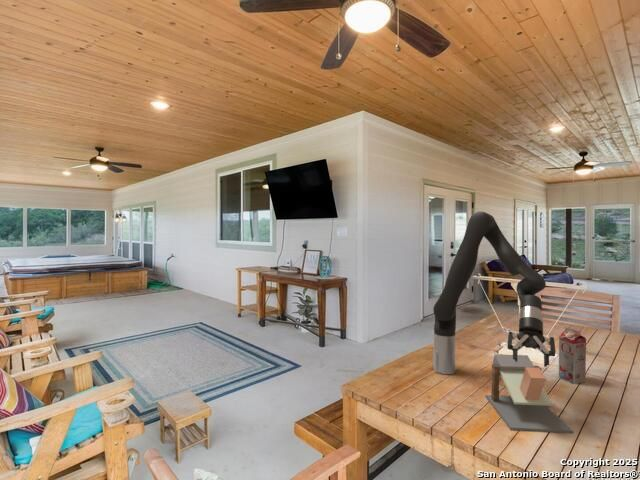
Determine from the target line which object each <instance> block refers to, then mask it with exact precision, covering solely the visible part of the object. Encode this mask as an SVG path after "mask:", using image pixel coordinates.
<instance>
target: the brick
mask: <svg viewBox="0 0 640 480" xmlns="http://www.w3.org/2000/svg"><path fill="white" fill-rule="evenodd" d="M540 368H541V367H540ZM540 368H531V367H525V371H524V374H523V378H522V381H521V385H520V390H521V392H522V394H523V396H524V398H525V399H534V400H539V398H540V395H541V392H542V389H543V388H544V386H545V383H546V380H547V378H546V376H545V375H544V373H543V370H542V371H541V369H540Z"/></svg>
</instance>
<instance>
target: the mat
mask: <svg viewBox="0 0 640 480" xmlns="http://www.w3.org/2000/svg"><path fill="white" fill-rule="evenodd" d="M484 397H485V398H486V399H487V401H488V403H489V404H490V405H491V406H492V407H493V409H494V411H496V413H497V414H498V415H499V417H500V418H501V419H502V421H503V422H504V424H505V425H506V426H507V427H508V428H509V430H510V431H522V432H541V433H542V432H544V433H545V432H546V433H547V432H548V433H565V434H573V433H574V430H573V429H572V428H571V427H570V426H569V425H568V424H567V423H566V422H565V421H563V420H562V419H561V418H560V417H559V416H558V415H557V414H556V413H555V412H554V411H553V410H552V409H551V408H550V407H549V406H544V405H521V404H514V402H513V400H512V398H511V396H510V395H501V394H499V402H494V401H493V400H492V399H491V394H485V396H484Z"/></svg>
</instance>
